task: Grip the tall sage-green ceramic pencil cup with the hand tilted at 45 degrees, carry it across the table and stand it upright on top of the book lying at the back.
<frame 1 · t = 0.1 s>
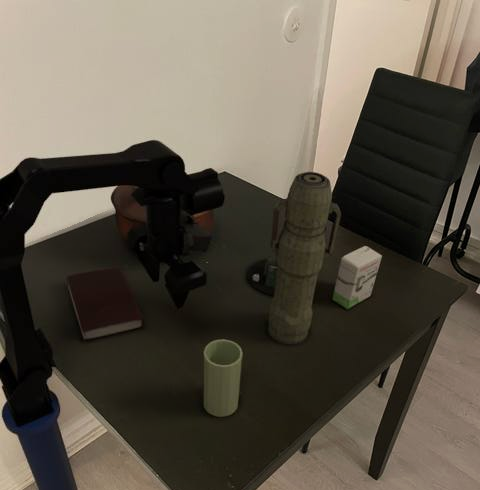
hand: (167, 294, 94), 13 cm above the table, tool pointing down, fingers open, 9 cm apart
pencil cup: (220, 402, 92), on the table
bowl: (166, 248, 130), on the table
ink box: (351, 298, 118), on the table
book: (104, 307, 111), on the table
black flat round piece: (278, 278, 122), on the table
thermos: (287, 330, 108), on the table
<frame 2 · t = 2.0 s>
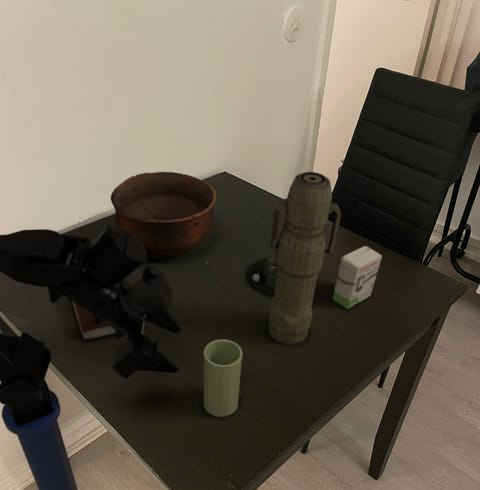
hand: (177, 350, 83), 13 cm above the table, tool tilted 45°, fingers open, 9 cm apart
nothing on the table moved.
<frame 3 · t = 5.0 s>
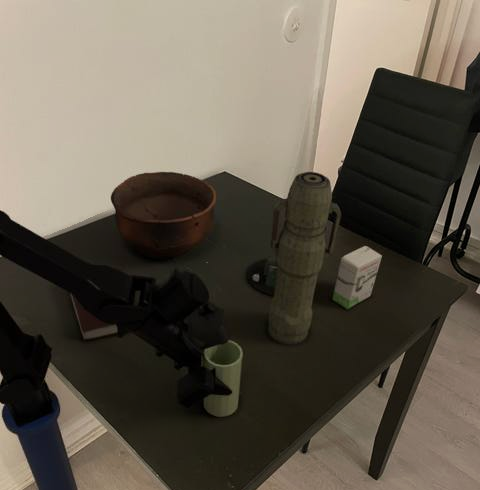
hand: (229, 378, 88), 7 cm above the table, tool tilted 45°, fingers closed on pencil cup, 6 cm apart
pencil cup: (220, 402, 92), on the table, touching gripper
everything else where it was.
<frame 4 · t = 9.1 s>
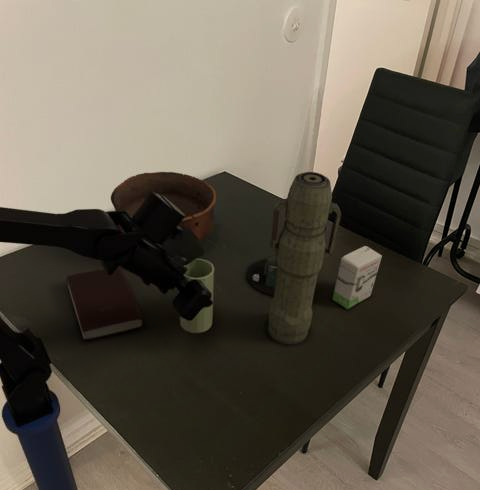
hand: (202, 294, 96), 12 cm above the table, tool tilted 45°, fingers closed on pencil cup, 6 cm apart
pencil cup: (196, 322, 100), point 6 cm above the table, touching gripper
everything else where it was.
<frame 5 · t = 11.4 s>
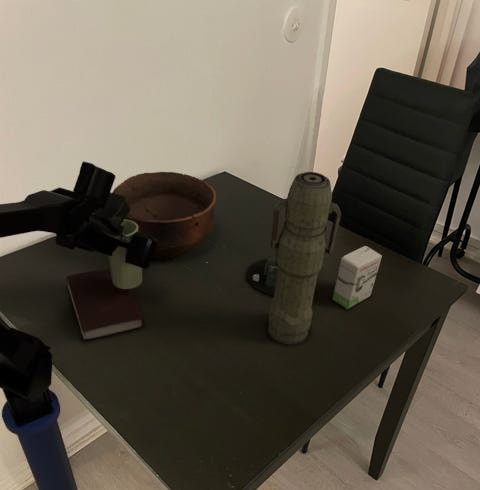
hand: (128, 251, 105), 12 cm above the table, tool tilted 45°, fingers closed on pencil cup, 6 cm apart
pencil cup: (127, 280, 109), point 6 cm above the table, touching gripper
everything else where it was.
when the fingers open (10 cm above the table, at t = 13.4 s): pencil cup stays where it is, resting on book.
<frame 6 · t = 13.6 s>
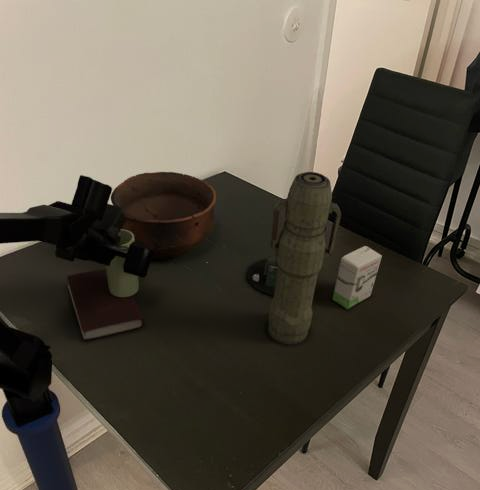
hand: (124, 259, 107), 10 cm above the table, tool tilted 45°, fingers open, 8 cm apart
pencil cup: (124, 288, 111), point 3 cm above the table, touching book
book: (104, 307, 111), on the table, touching pencil cup
everything else where it was.
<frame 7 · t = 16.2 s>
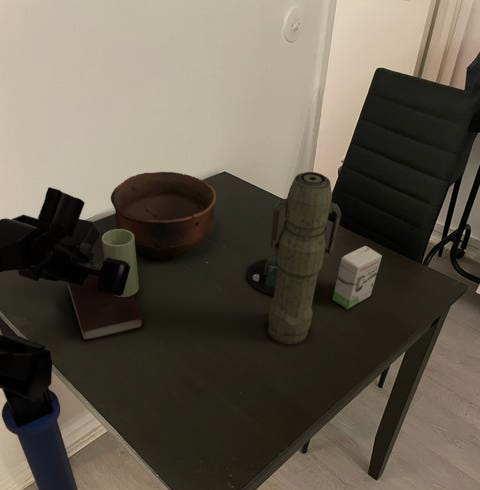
hand: (100, 279, 100), 11 cm above the table, tool tilted 45°, fingers open, 9 cm apart
nothing on the table moved.
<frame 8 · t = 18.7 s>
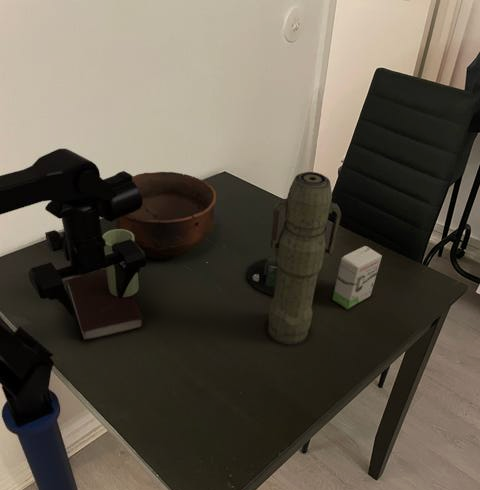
hand: (96, 305, 91), 13 cm above the table, tool pointing down, fingers open, 9 cm apart
nothing on the table moved.
at the end: pencil cup inside the target area on the book (5.0 cm from its centre), point 3.4 cm above the book's base; pencil cup tilted 0°; the gripper is holding nothing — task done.
